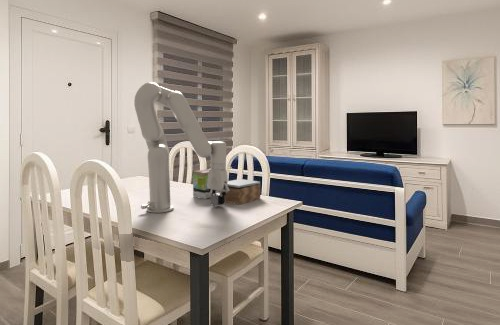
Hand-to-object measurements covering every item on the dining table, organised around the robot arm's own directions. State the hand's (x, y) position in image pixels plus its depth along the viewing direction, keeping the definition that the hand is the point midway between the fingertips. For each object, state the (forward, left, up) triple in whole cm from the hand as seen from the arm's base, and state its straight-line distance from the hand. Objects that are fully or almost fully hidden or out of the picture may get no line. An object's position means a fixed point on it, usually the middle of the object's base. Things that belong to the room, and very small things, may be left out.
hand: (217, 202), depth 173 cm
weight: (0, 0, -1) cm, 1 cm away
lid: (+19, +1, +6) cm, 20 cm away
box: (+19, +1, -2) cm, 19 cm away
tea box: (+15, +21, -2) cm, 26 cm away
